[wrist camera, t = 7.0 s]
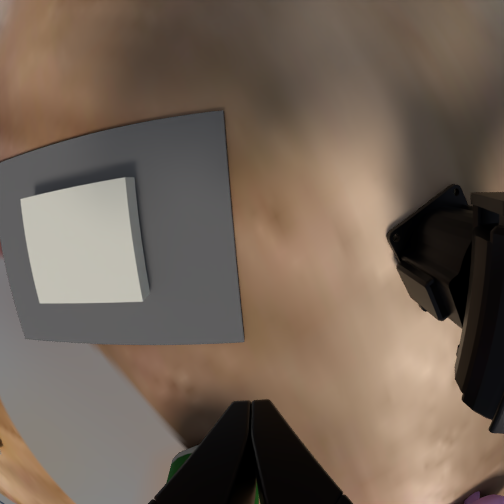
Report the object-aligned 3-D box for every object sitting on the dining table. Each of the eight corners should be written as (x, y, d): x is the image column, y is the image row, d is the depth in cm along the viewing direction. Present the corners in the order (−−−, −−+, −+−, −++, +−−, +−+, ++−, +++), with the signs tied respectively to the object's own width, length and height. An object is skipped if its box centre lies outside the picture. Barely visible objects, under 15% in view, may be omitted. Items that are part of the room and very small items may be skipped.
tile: (125, 177, 16) (20, 199, 16) (142, 301, 17) (39, 303, 17) (136, 177, 17) (35, 196, 17) (151, 291, 19) (52, 295, 19)
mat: (223, 111, 17) (223, 110, 16) (244, 339, 20) (244, 342, 20) (-4, 165, 17) (-8, 165, 17) (28, 336, 20) (25, 338, 20)
